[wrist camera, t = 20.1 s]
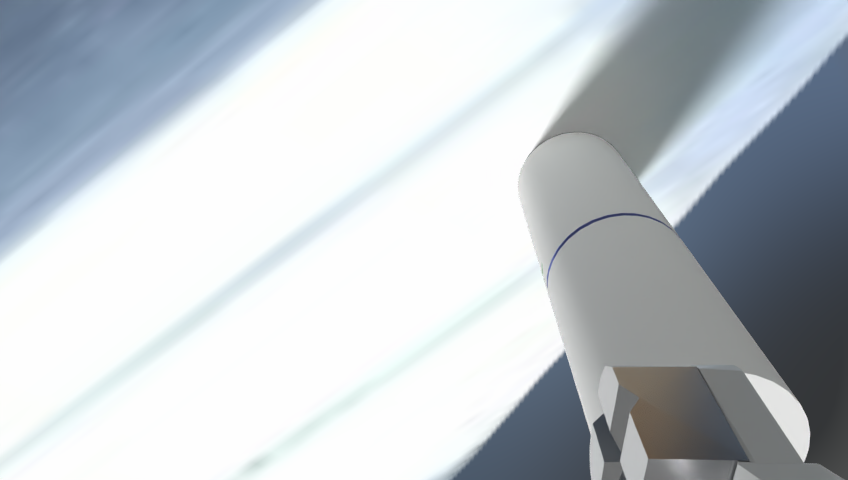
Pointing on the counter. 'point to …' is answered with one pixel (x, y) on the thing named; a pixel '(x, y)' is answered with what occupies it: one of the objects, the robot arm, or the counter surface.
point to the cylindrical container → (631, 279)
